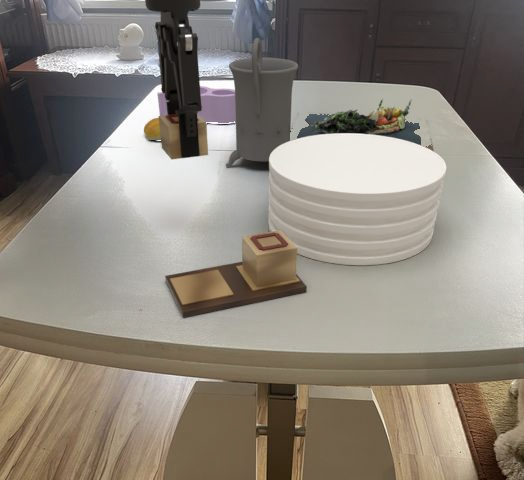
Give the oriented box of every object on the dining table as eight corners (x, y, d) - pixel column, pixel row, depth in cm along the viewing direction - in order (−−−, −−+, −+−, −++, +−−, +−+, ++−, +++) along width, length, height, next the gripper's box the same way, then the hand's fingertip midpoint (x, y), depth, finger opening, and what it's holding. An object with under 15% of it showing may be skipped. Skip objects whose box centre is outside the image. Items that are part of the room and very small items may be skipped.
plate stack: (263, 195, 105) (263, 134, 98) (407, 192, 106) (417, 131, 99) (274, 268, 83) (276, 195, 76) (455, 263, 84) (473, 191, 77)
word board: (183, 318, 73) (182, 310, 72) (165, 281, 80) (164, 274, 79) (306, 292, 78) (306, 284, 77) (279, 260, 85) (279, 253, 84)
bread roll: (150, 144, 130) (148, 126, 127) (141, 133, 136) (139, 116, 134) (184, 140, 132) (182, 122, 130) (174, 129, 139) (172, 113, 136)
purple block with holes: (241, 114, 150) (241, 87, 145) (232, 128, 140) (231, 99, 136) (170, 111, 152) (168, 84, 148) (157, 124, 142) (153, 95, 138)
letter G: (171, 159, 85) (168, 124, 82) (161, 148, 89) (158, 114, 86) (208, 155, 87) (206, 120, 83) (197, 143, 91) (194, 110, 88)
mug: (238, 148, 127) (234, 24, 112) (301, 152, 125) (306, 26, 110) (219, 177, 113) (212, 39, 97) (290, 182, 111) (294, 42, 95)
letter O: (256, 287, 76) (256, 253, 73) (242, 267, 81) (241, 235, 78) (296, 279, 78) (297, 246, 75) (279, 260, 83) (280, 228, 79)
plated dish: (426, 118, 147) (431, 89, 143) (435, 154, 126) (442, 121, 121) (296, 114, 152) (297, 85, 147) (284, 148, 130) (284, 115, 125)
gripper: (220, -20, 68) (226, 166, 82) (178, -30, 82) (190, 130, 96) (161, -19, 65) (177, 172, 80) (128, -29, 79) (147, 135, 93)
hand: (184, 149), depth 88 cm, fingers closed on letter G, 6 cm apart
